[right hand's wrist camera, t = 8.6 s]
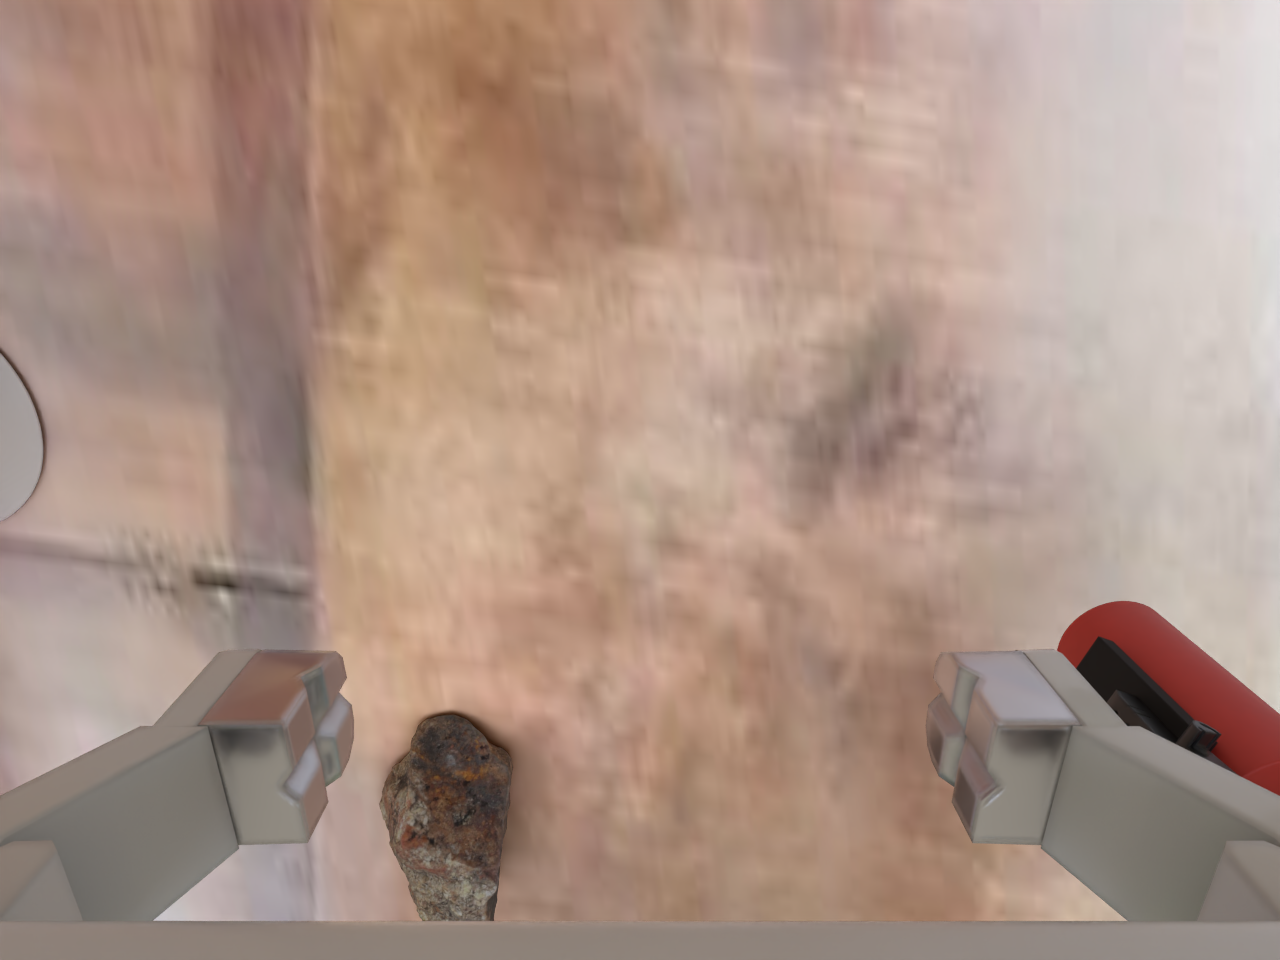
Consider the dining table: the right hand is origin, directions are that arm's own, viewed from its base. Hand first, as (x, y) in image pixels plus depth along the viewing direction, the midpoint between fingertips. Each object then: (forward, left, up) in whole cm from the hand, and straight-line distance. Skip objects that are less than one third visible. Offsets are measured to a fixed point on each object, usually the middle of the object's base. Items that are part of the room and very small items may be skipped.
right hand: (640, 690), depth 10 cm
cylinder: (+25, -11, -22) cm, 35 cm away
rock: (-8, -36, -33) cm, 49 cm away
